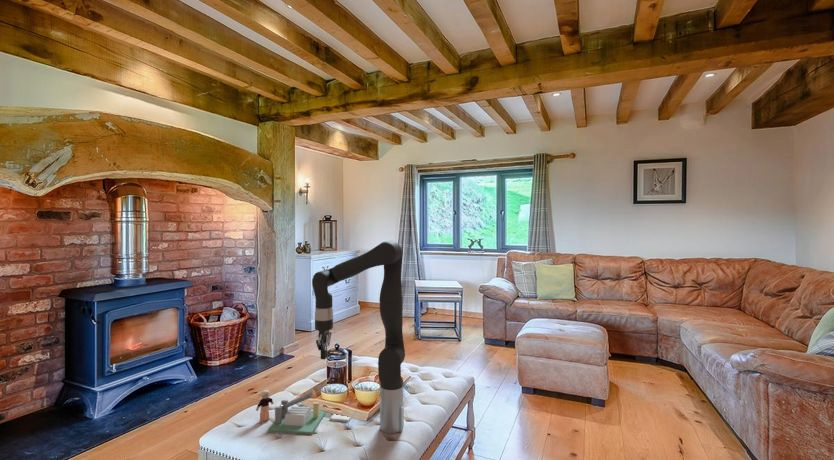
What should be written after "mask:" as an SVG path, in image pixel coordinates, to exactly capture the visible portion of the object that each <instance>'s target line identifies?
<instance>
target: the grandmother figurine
mask: <svg viewBox="0 0 834 460" xmlns="http://www.w3.org/2000/svg"><path fill="white" fill-rule="evenodd" d="M269 395H270V391H269V390H268V389H264V390H262V391H261V392H260V397H262V398H261V399H260V401H259V402H258V404H257V406H256V408H255V411H257V412H258V411H259V410H260V411H259V412H260V413H259V420H258V422H260V423H259V424H263V423H265V422H268V421H270V420H271V418H270V411H269V410H270V404H271V405H274V400H273V398H271V397H269Z"/></svg>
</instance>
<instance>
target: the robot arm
mask: <svg viewBox="0 0 834 460" xmlns="http://www.w3.org/2000/svg"><path fill="white" fill-rule="evenodd" d="M402 262H403V249H402V247H401V245H400V244H399V243H398V241H394V240H388V241H387V240H386V241H383V242H381V243H379V244H378V245H376V246H375V247H373V248H371V249H370V250H367V252H365V253H363V254H360V255H358V256H355V257H353V258H350V259H347V260H345V261H342V262H339V263H338V264H336V265H334V266H333V267H331V268H328V269H325V270H320V271H317V272H316V273H314V274H313V276H312V280H311V285H312V290H313V293H314V297H315V311H314V329H315V330H316V331H317V332H318V334H317V339H316V341H315V344H316V346H317V350H318V351H320V360H326V359H327V358H328V349H329V347H330V344H331V339H332V338H331V337H332V332H331V330H332V329H333V328H334V310H333V294H332V293H330V292H329V290H328V288H329V287H331V286H333V285H335V284H337V283H339V282H341V281H345V280H347V279H349V278H352V277H354V276H357V275H358V274H360V273H363V272H364V271H366V270H369V269H371V268H375V267H379V266H383V280H382V284H381V287H380V288H381V289H380V292H379V314H380V319H381V322H382V325H383V327H384V331H385V333H384V334H385V341H384V342H385V343H384V348H383V349H382V350H381V351H380V352H379V355H378V357H377V358H378V360H377V362H378V363H377V365H378V366H377V368H378V370H377V371H378V380H379V428H380V431H381V432H382V433H384V434H385V433H386V434H389V435H390V434H396V433H403V429H404V425H405V423H404V422H405V421H404V417H405V415H404V414H405V405H404V404H405V402H404V378H403V377H402V371H401V370H402V369H401V368H402V364H403V362H404V360H405V357H406V351H405V350H406V349H405V343H404V336H403V335H404V334H403V321H404V320H403V292H402V291H403V290H402V289H403V288H402Z"/></svg>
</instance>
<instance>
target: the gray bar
mask: <svg viewBox="0 0 834 460" xmlns="http://www.w3.org/2000/svg"><path fill="white" fill-rule="evenodd" d="M313 392H314V391H313V389H312V390H310V391H308V392H306V394H304V395H301V396H299V397H296V398H294V399H292V400H290V401H288V402H287V403H282V404H280V405H279V406H278V407H282V410H283V409H286V408H288V409H289V408H291V407H292V406H293V407H294V406H295V405H297V404H299V403H302V402H304V401H306V400H309V399H311V398H312V397H313V396H314V393H313Z"/></svg>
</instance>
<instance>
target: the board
mask: <svg viewBox="0 0 834 460" xmlns="http://www.w3.org/2000/svg"><path fill="white" fill-rule="evenodd" d="M287 402H289V400H288V399H281V401H280V403H281V404H282V403H287ZM281 404H280V405H281ZM312 404H313V405H312V407H313V408H312V409H311V407H310V406H307V407H306V406H294V405H293V406H290V408H289V407H288V408H286V409H283V410H282V407H279V406H275V408H274V421H273V423H272V424H271V425H270V427H268V429H267V433H277V434H278V433H281V434H293V433H298V434H297V435H313V434H314V433H315V431H316V429H318V427H319V425H320V423H321V422H322V420H323V419H324V417H325V416H326V411H320V401H314V402H313V403H312Z"/></svg>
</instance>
